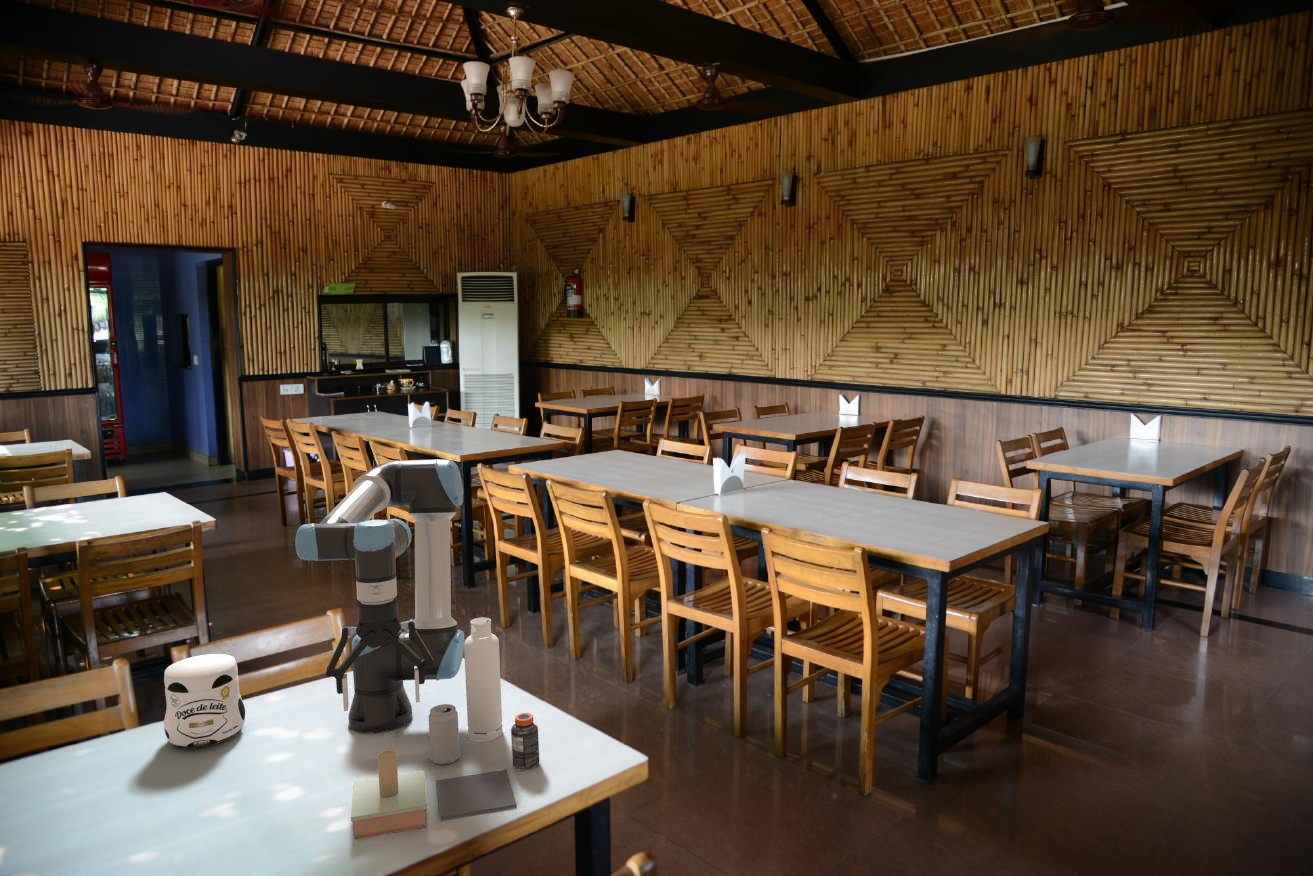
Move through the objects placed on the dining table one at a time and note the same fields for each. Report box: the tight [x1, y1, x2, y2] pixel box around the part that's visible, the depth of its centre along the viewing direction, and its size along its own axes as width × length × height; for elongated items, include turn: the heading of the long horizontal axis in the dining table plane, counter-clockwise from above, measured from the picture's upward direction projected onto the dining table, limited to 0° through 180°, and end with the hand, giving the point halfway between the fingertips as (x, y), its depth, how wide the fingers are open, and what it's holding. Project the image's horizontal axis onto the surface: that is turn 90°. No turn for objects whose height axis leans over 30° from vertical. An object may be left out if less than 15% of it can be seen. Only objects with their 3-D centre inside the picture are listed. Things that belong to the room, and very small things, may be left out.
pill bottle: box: [510, 712, 540, 771], centre depth 196 cm, size 6×6×11 cm
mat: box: [435, 769, 518, 821], centre depth 184 cm, size 15×15×1 cm
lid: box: [350, 750, 428, 822], centre depth 176 cm, size 14×14×9 cm
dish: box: [353, 809, 426, 840], centre depth 177 cm, size 13×13×4 cm
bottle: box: [463, 617, 503, 743], centre depth 210 cm, size 8×8×28 cm
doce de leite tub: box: [163, 653, 246, 749], centre depth 211 cm, size 17×17×18 cm
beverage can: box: [428, 703, 461, 766], centre depth 199 cm, size 6×6×12 cm
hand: (382, 704), depth 176 cm, fingers open, 13 cm apart
